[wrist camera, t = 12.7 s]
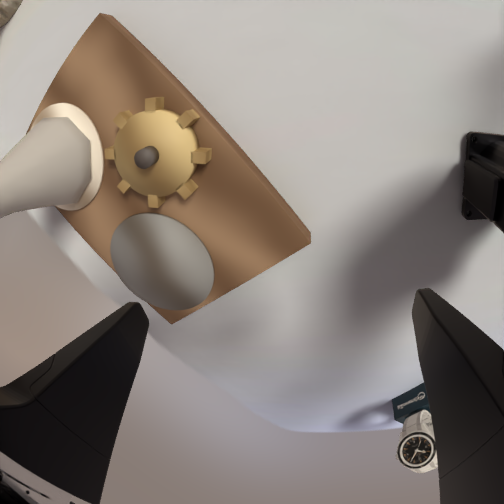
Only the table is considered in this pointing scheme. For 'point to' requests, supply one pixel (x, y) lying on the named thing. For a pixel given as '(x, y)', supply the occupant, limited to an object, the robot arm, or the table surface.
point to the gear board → (164, 179)
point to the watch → (415, 431)
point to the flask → (45, 167)
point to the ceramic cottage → (8, 10)
